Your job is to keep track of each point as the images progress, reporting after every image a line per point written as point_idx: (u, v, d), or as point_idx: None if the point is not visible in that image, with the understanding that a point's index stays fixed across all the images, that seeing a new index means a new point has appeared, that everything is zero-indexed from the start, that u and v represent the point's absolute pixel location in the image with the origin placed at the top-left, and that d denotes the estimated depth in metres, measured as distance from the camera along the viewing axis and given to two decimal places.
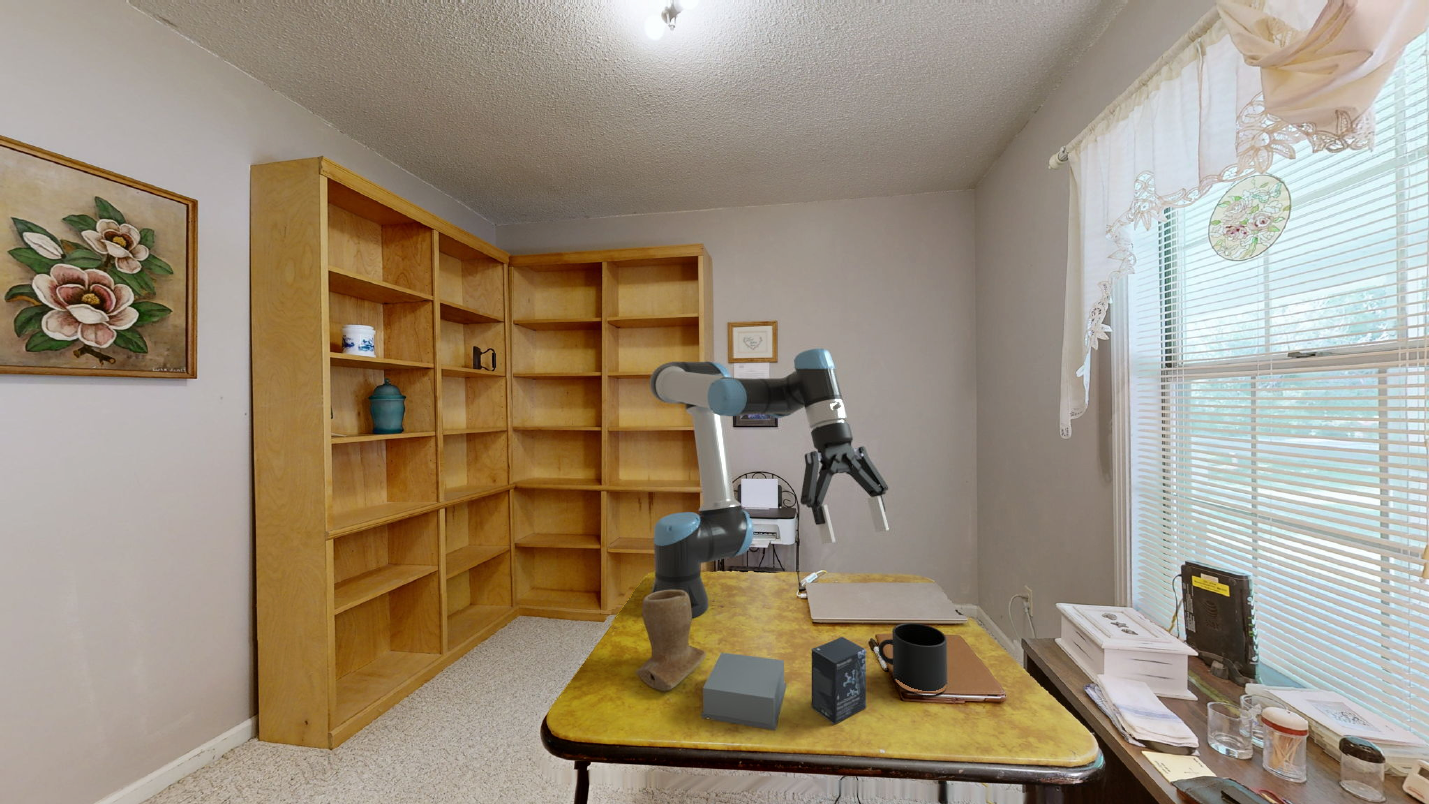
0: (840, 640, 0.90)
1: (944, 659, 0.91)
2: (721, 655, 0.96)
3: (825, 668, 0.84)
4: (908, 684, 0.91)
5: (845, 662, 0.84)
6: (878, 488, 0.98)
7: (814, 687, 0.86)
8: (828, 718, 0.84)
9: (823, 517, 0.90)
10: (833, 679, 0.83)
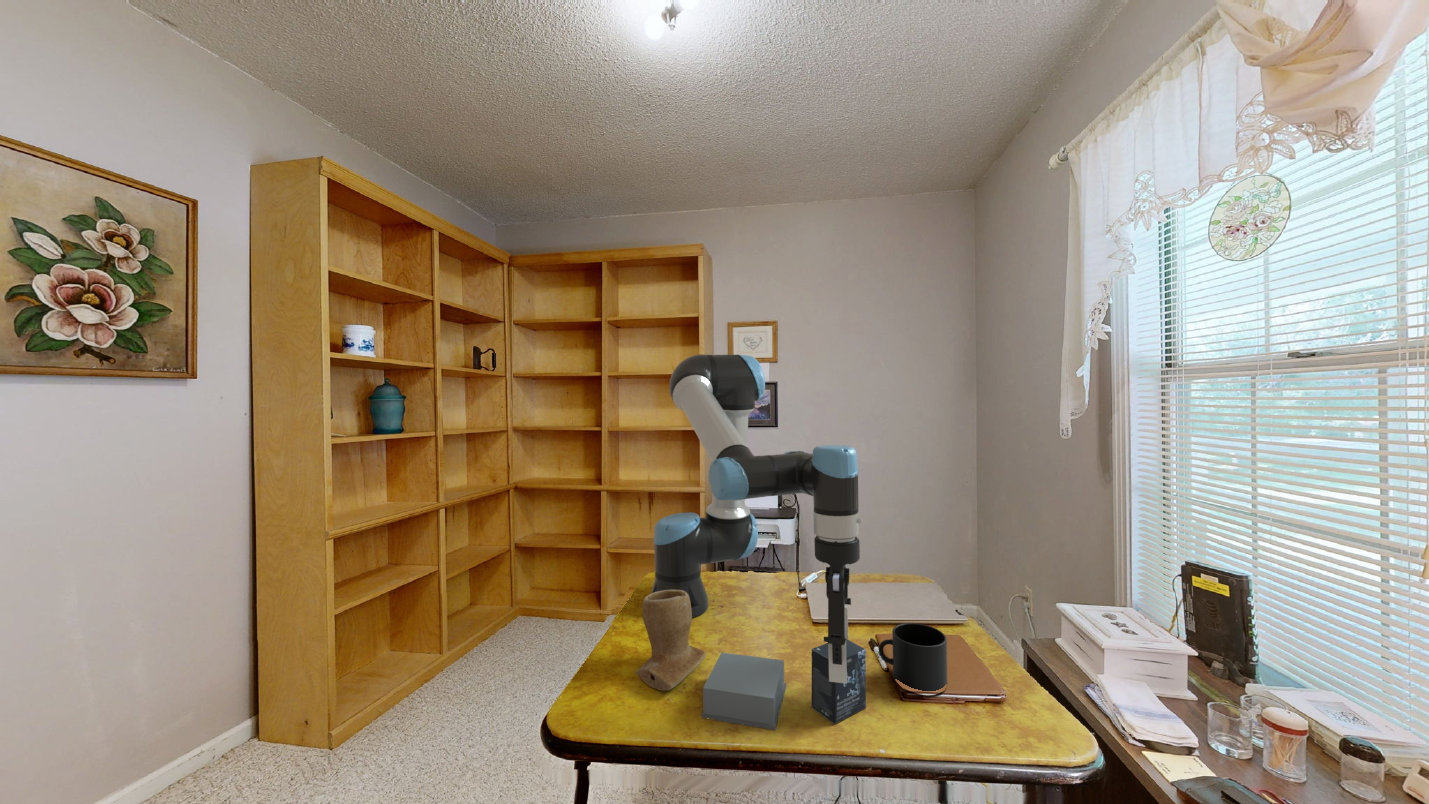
0: None
1: (944, 659, 0.91)
2: (721, 655, 0.96)
3: (825, 668, 0.84)
4: (908, 684, 0.91)
5: None
6: None
7: (814, 687, 0.86)
8: (828, 718, 0.84)
9: (841, 655, 0.79)
10: None
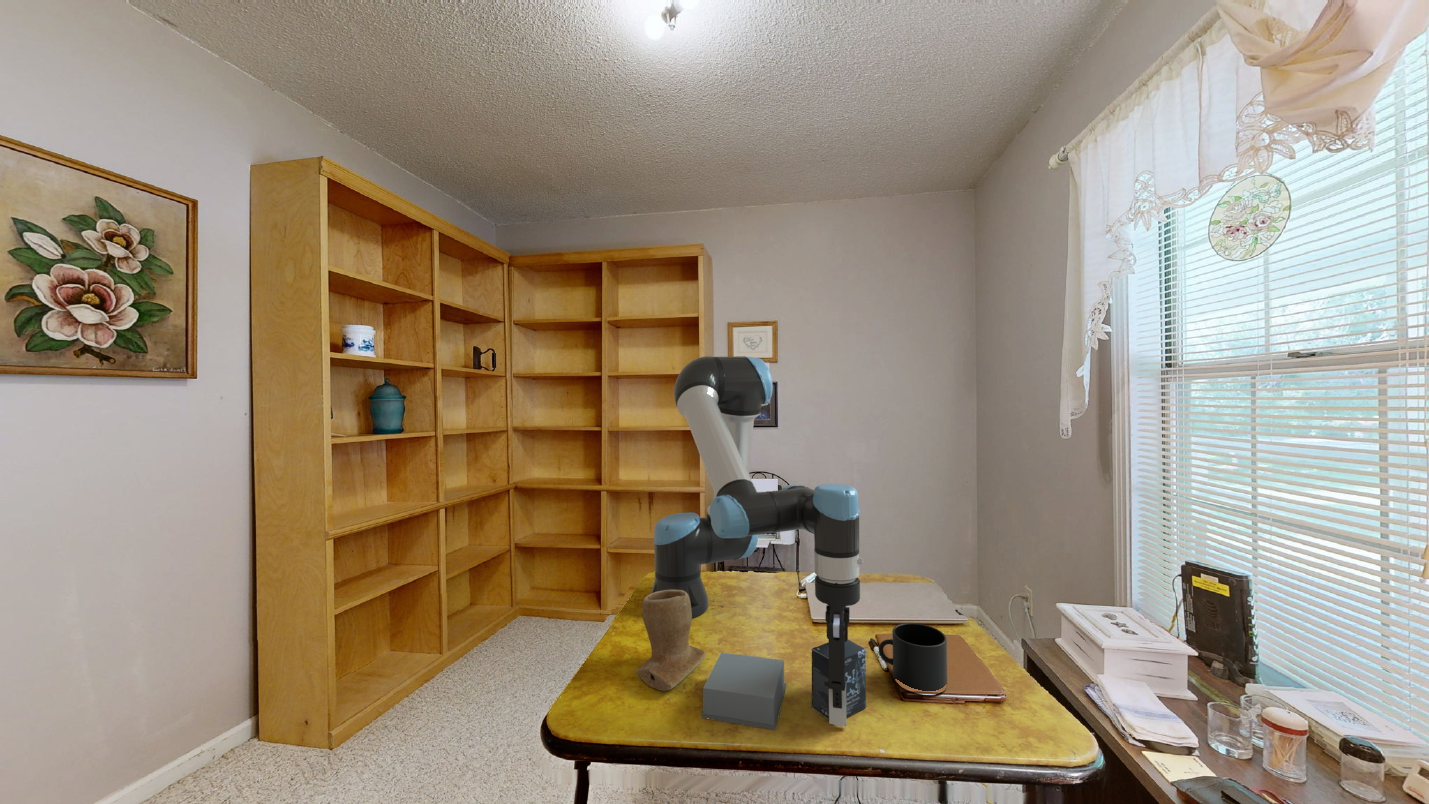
0: None
1: (944, 659, 0.91)
2: (721, 655, 0.96)
3: (825, 668, 0.84)
4: (908, 684, 0.91)
5: (845, 662, 0.84)
6: None
7: (814, 687, 0.86)
8: (828, 718, 0.84)
9: (841, 699, 0.81)
10: None
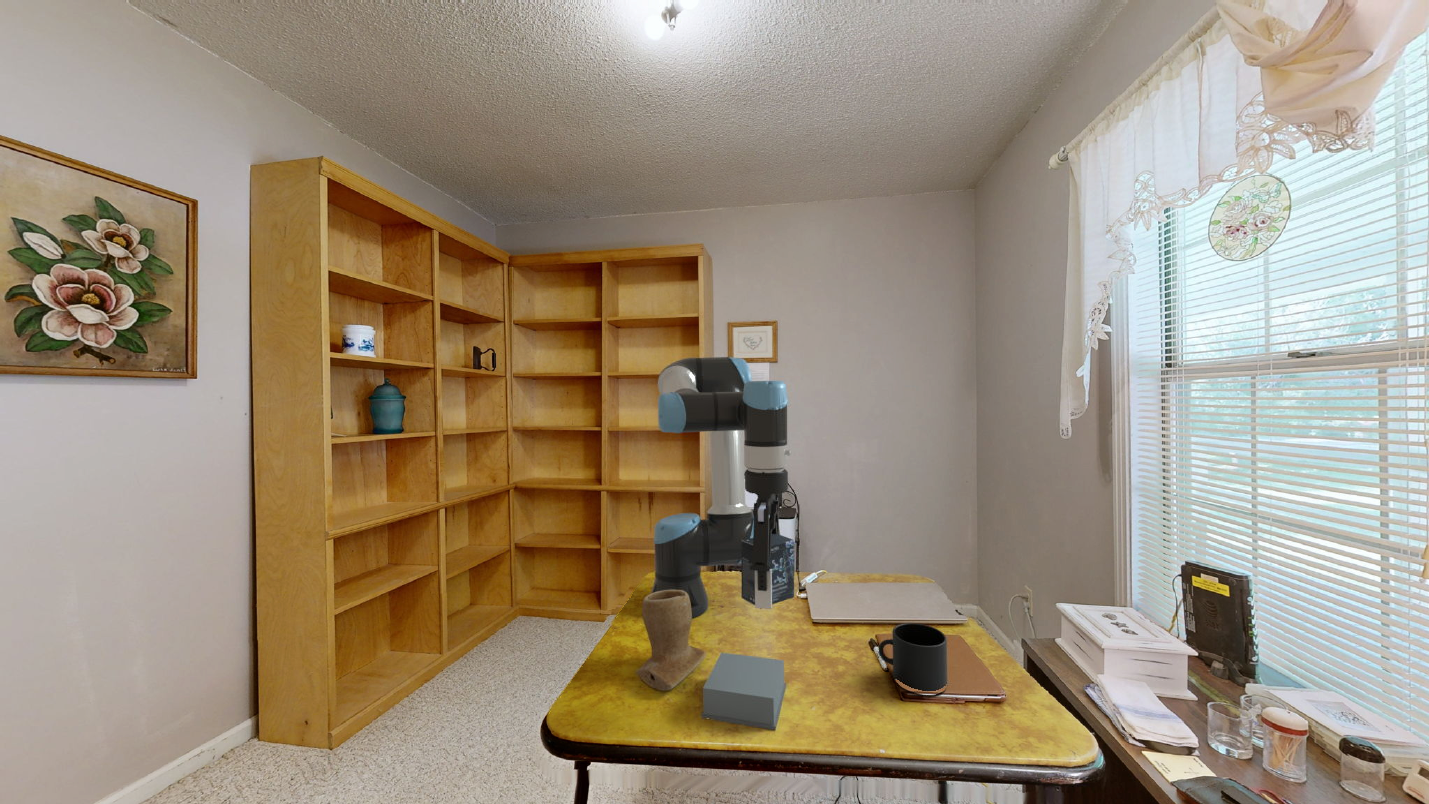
0: None
1: (944, 659, 0.91)
2: (721, 655, 0.96)
3: None
4: (908, 684, 0.91)
5: (772, 549, 0.86)
6: None
7: (743, 577, 0.88)
8: None
9: (766, 582, 0.83)
10: None
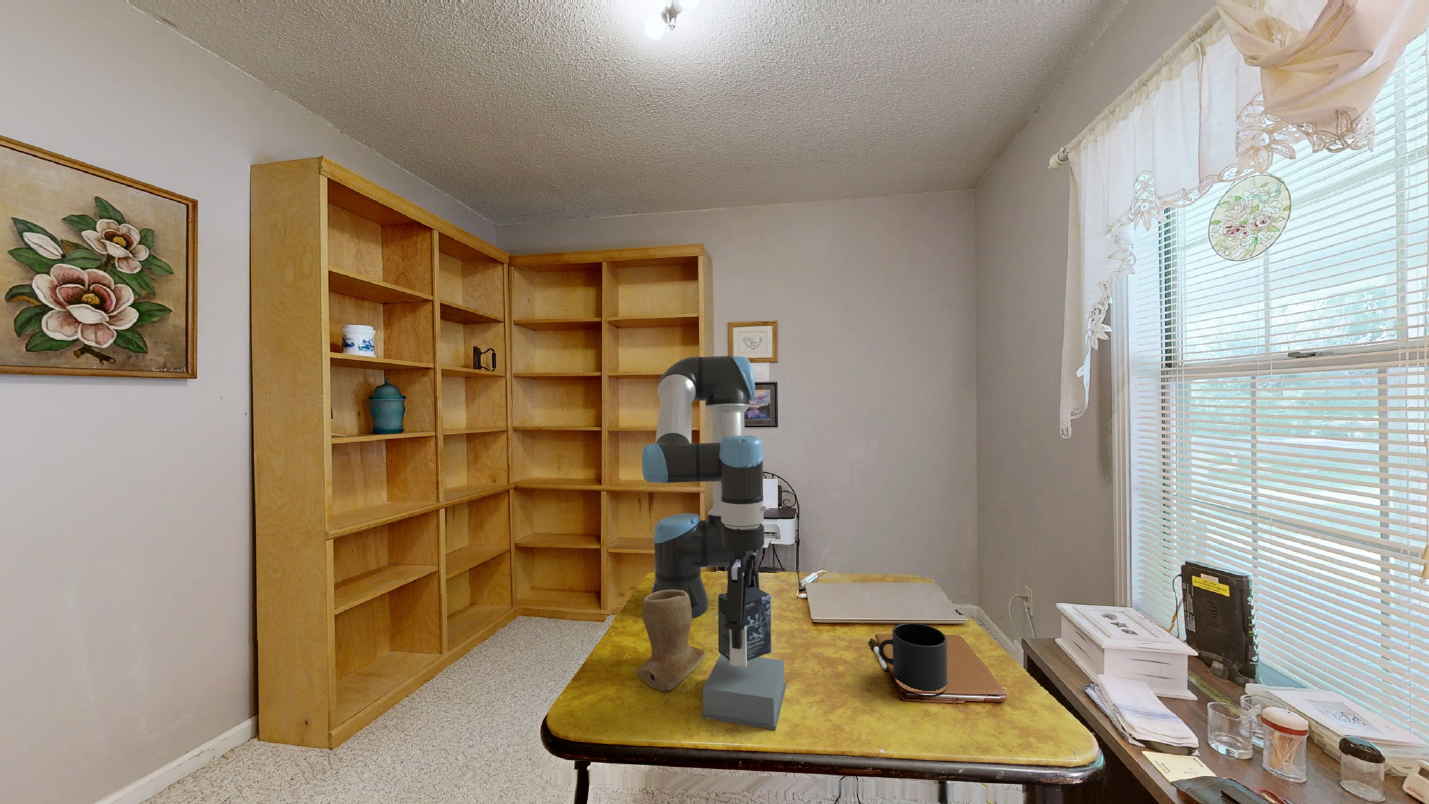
0: (749, 588, 0.92)
1: (944, 659, 0.91)
2: (721, 655, 0.96)
3: None
4: (908, 684, 0.91)
5: (747, 606, 0.86)
6: None
7: (720, 632, 0.89)
8: None
9: (741, 640, 0.84)
10: None
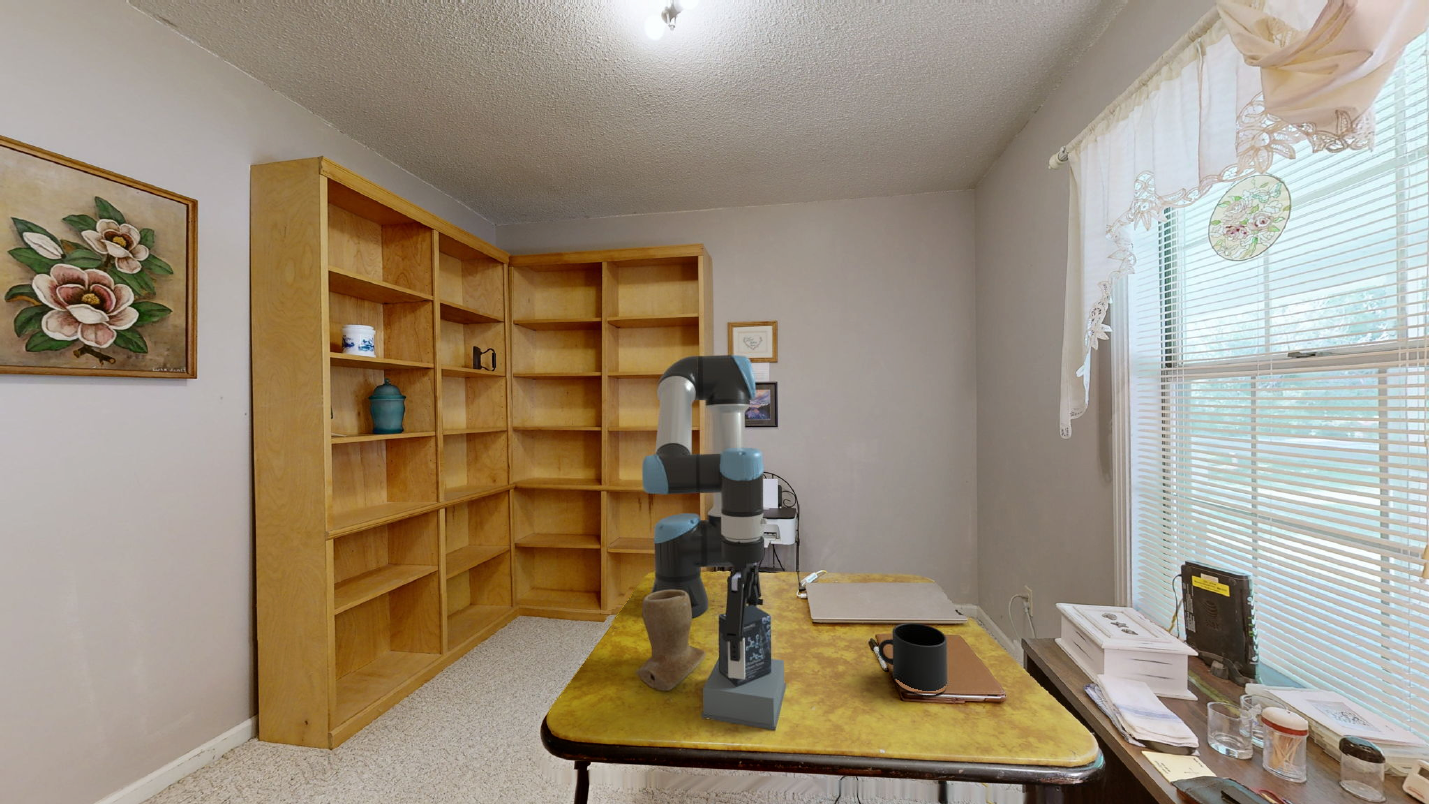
0: (749, 607, 0.92)
1: (944, 659, 0.91)
2: None
3: None
4: (908, 684, 0.91)
5: (747, 627, 0.86)
6: (758, 598, 0.96)
7: (720, 652, 0.89)
8: (731, 681, 0.86)
9: (739, 652, 0.82)
10: None
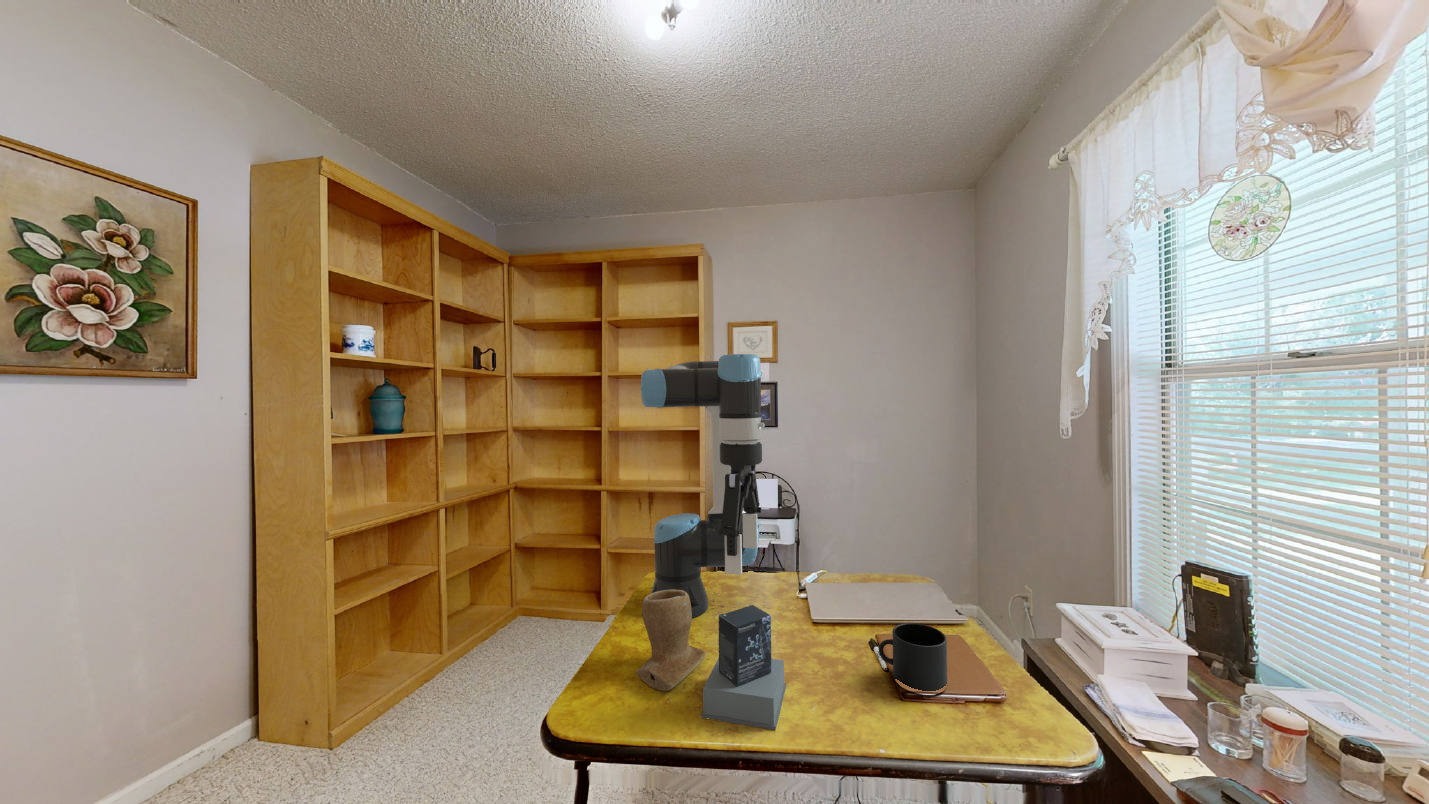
0: (749, 607, 0.92)
1: (944, 659, 0.91)
2: None
3: (729, 633, 0.87)
4: (908, 684, 0.91)
5: (747, 627, 0.86)
6: (756, 506, 0.97)
7: (720, 652, 0.89)
8: (731, 681, 0.86)
9: (736, 548, 0.83)
10: (734, 642, 0.85)
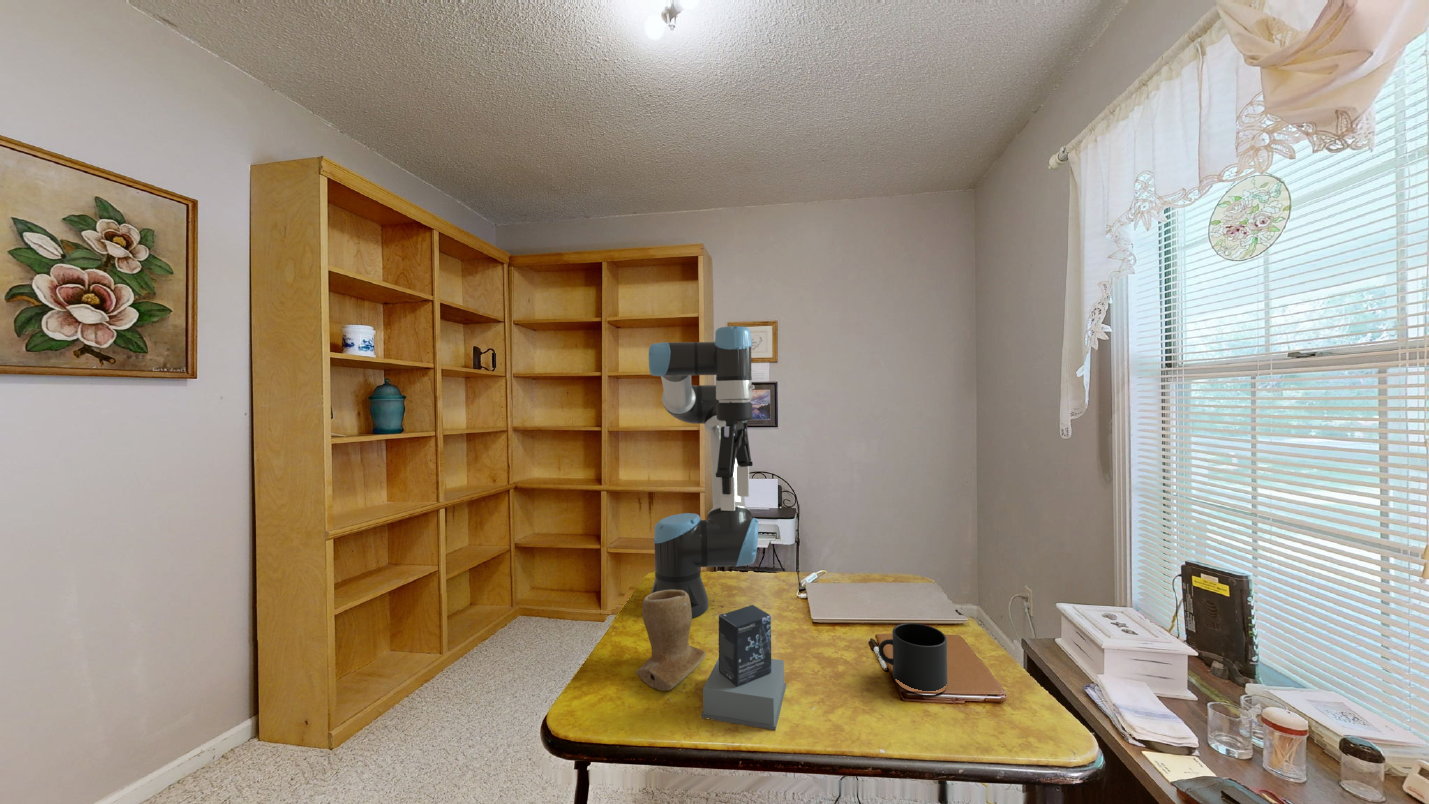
0: (749, 607, 0.92)
1: (944, 659, 0.91)
2: None
3: (729, 633, 0.87)
4: (908, 684, 0.91)
5: (747, 627, 0.86)
6: (748, 460, 1.12)
7: (720, 652, 0.89)
8: (731, 681, 0.86)
9: (730, 488, 0.98)
10: (734, 642, 0.85)
